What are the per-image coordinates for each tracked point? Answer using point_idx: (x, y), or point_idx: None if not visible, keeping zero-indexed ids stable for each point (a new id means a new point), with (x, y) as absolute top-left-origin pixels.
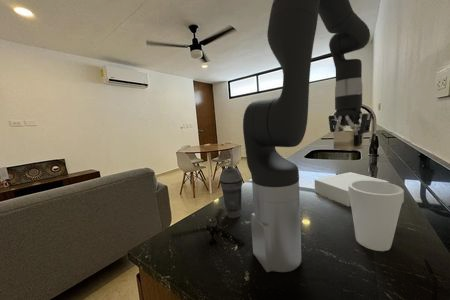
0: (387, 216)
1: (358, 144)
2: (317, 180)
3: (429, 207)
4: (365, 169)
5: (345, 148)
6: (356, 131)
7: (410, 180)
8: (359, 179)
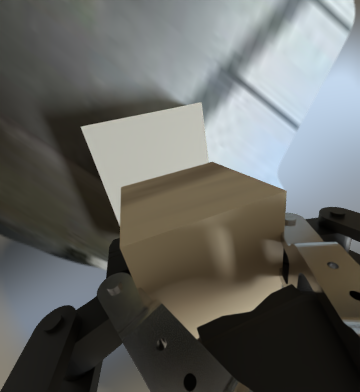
0: None
1: (111, 243)
2: (192, 105)
3: (65, 259)
4: None
5: (145, 183)
6: (110, 301)
7: None
8: None
